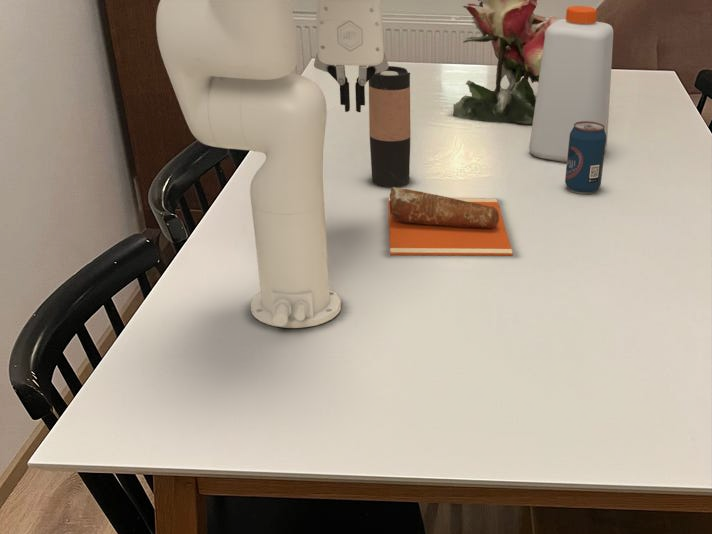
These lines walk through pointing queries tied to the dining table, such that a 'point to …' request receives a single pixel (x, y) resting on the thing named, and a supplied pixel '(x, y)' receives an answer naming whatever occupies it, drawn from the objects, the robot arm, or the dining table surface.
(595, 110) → the plastic bottle
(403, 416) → the dining table surface
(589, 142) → the soda can
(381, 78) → the travel mug
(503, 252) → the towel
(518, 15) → the rose bouquet
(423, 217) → the bread
